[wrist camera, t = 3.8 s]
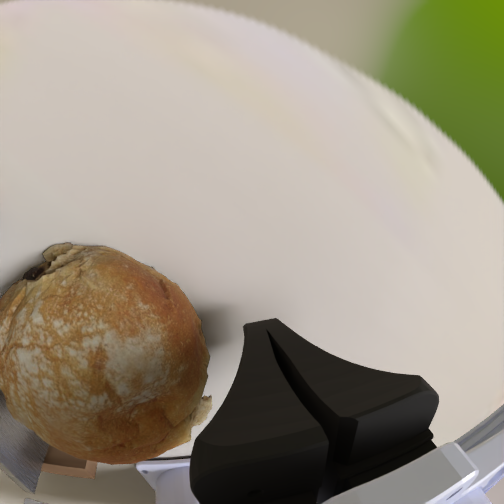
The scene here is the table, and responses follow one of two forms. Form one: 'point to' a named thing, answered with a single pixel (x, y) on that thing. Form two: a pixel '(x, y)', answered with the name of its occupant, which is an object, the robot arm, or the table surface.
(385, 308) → the table surface
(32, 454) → the pusher plate
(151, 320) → the bread roll
